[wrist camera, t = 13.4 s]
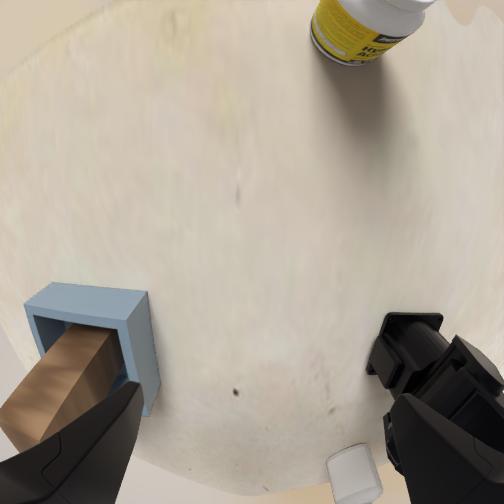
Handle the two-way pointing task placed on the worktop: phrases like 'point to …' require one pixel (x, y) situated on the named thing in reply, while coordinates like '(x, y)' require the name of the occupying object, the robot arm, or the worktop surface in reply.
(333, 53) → the supplement bottle
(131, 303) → the holder
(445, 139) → the worktop surface
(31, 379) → the upright wooden block
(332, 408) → the worktop surface
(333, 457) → the eye dropper bottle
